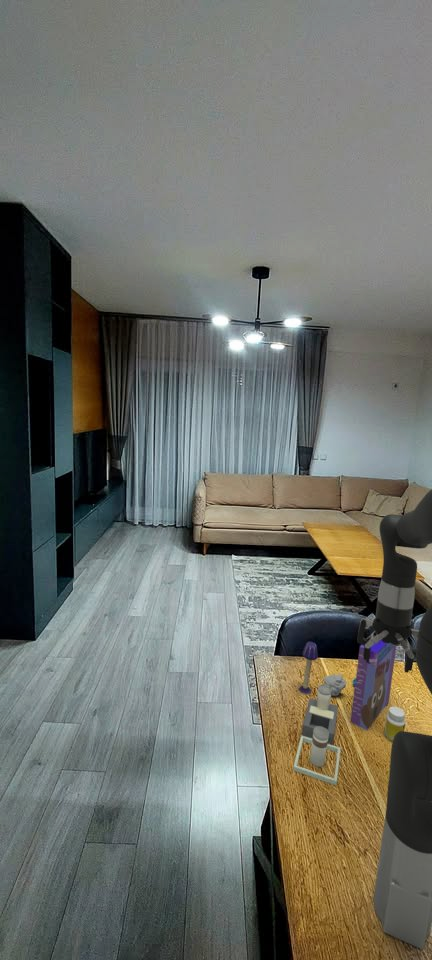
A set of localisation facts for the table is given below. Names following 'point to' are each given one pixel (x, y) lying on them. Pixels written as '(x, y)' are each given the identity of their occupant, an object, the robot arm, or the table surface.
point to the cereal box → (372, 684)
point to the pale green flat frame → (312, 773)
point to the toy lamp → (308, 665)
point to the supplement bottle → (394, 722)
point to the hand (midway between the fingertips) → (386, 665)
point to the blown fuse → (319, 746)
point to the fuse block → (320, 714)
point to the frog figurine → (335, 683)
